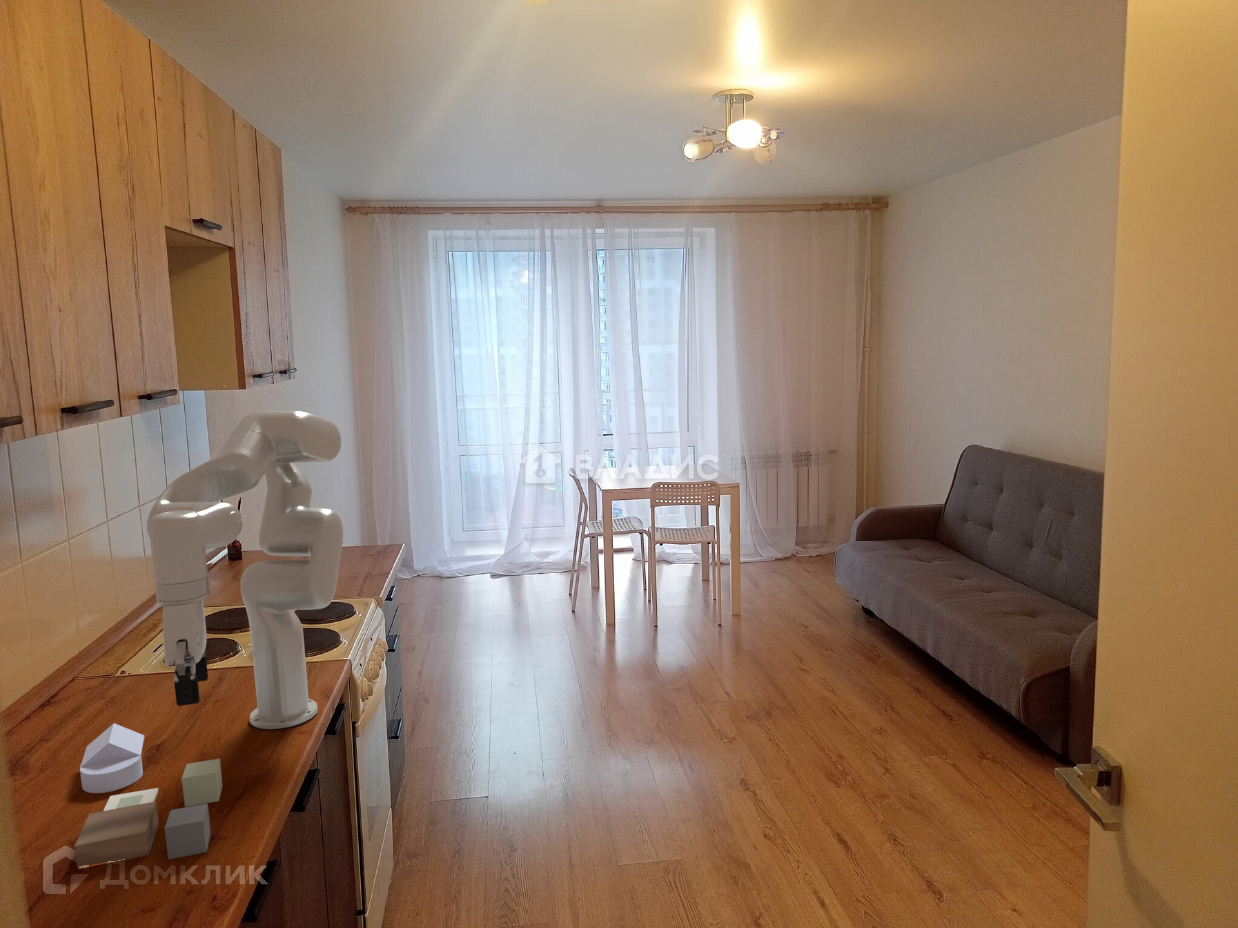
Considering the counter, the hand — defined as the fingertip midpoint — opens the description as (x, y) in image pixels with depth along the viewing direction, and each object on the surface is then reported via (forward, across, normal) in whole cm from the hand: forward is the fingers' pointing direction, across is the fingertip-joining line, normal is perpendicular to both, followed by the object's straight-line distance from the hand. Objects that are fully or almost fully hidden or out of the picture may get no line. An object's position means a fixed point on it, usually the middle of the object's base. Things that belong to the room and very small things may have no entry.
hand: (193, 692), depth 138 cm
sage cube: (+18, 0, 0) cm, 18 cm away
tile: (+18, -1, -11) cm, 21 cm away
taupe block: (+18, +11, -10) cm, 24 cm away
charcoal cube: (+18, +15, 0) cm, 23 cm away
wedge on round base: (+18, -14, -16) cm, 28 cm away
